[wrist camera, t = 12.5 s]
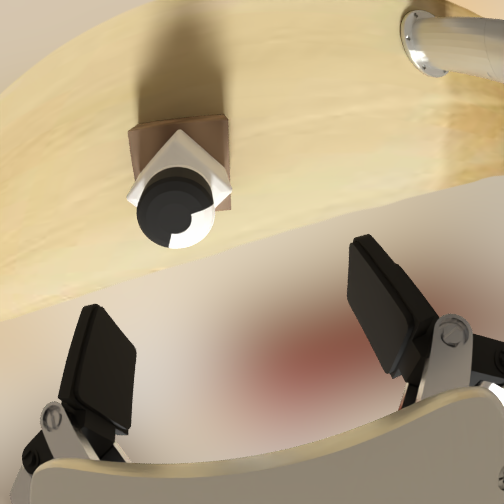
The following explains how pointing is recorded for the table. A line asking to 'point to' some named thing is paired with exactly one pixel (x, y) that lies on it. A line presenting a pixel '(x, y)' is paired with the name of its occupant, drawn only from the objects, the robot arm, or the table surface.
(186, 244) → the medicine bottle
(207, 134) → the walnut box
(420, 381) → the robot arm
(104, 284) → the table surface
